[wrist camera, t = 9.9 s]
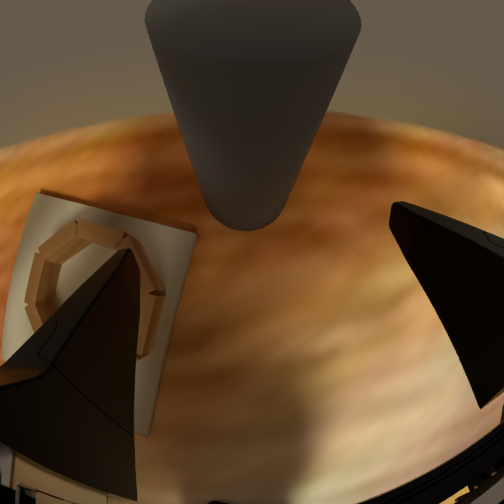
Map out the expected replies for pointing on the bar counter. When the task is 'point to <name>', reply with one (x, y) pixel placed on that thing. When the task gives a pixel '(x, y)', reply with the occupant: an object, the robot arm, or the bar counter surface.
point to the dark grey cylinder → (250, 92)
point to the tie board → (84, 265)
